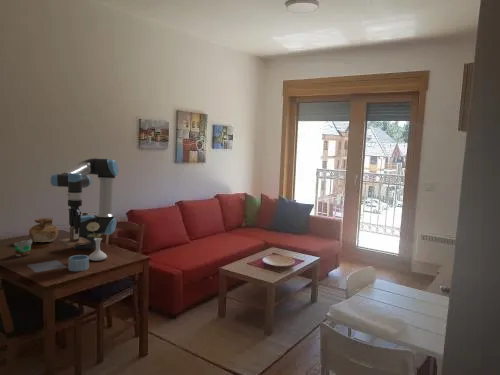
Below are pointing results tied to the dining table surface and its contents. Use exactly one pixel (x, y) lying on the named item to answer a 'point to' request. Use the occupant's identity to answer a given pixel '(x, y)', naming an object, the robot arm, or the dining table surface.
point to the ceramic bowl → (78, 263)
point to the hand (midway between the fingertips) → (74, 238)
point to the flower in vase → (97, 253)
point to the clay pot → (43, 230)
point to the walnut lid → (73, 240)
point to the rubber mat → (46, 266)
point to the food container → (23, 248)
